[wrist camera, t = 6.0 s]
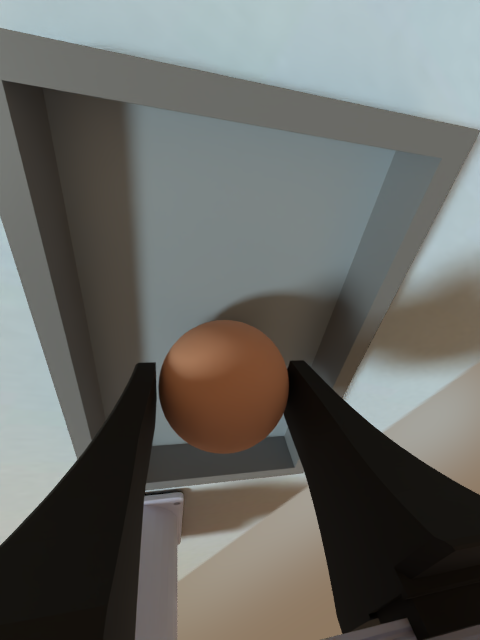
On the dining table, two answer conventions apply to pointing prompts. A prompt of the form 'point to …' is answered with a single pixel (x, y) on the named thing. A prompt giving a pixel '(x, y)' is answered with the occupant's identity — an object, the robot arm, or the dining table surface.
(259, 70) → the dining table surface
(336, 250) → the walled pen
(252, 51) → the dining table surface
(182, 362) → the ball
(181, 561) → the dining table surface
